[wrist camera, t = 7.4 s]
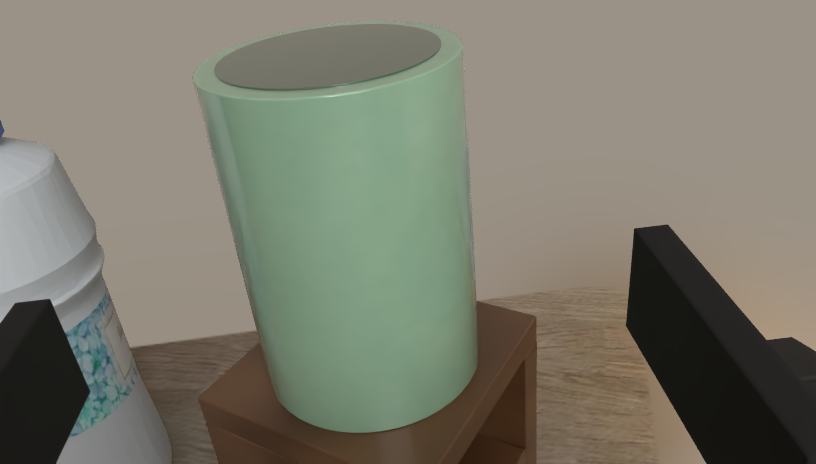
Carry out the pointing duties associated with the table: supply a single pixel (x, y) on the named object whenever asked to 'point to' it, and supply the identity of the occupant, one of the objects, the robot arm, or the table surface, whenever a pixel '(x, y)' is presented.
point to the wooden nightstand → (402, 447)
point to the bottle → (74, 305)
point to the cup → (351, 215)
